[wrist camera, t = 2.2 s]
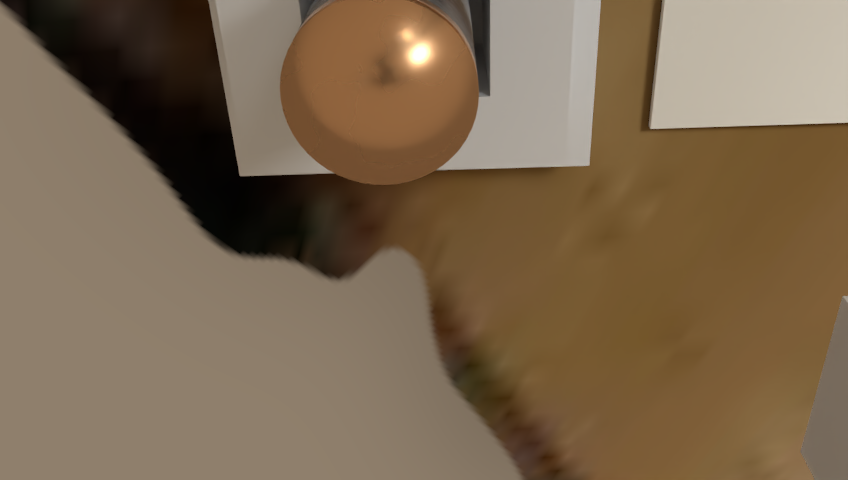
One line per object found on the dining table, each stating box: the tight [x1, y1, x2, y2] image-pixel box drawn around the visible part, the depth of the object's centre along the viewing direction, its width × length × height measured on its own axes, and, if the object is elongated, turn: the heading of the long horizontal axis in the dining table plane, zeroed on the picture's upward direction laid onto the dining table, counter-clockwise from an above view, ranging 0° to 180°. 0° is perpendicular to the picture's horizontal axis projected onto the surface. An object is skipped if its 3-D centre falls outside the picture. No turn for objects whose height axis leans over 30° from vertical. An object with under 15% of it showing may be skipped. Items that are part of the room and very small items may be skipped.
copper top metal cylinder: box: [280, 0, 479, 185], centre depth 26 cm, size 5×5×14 cm
